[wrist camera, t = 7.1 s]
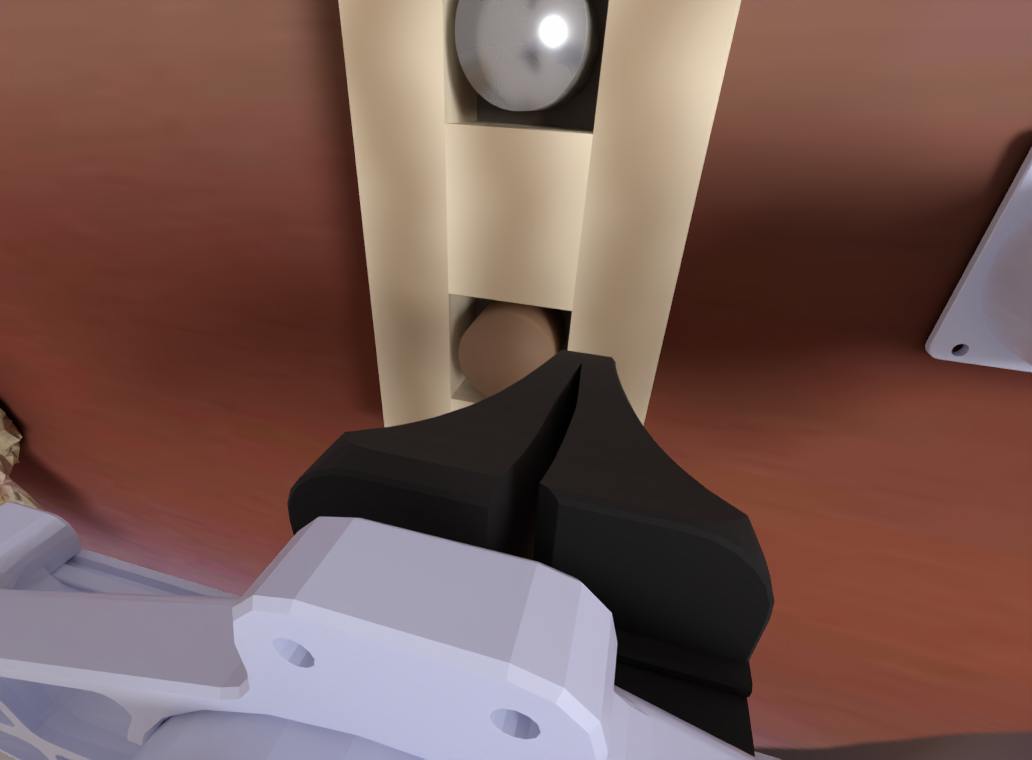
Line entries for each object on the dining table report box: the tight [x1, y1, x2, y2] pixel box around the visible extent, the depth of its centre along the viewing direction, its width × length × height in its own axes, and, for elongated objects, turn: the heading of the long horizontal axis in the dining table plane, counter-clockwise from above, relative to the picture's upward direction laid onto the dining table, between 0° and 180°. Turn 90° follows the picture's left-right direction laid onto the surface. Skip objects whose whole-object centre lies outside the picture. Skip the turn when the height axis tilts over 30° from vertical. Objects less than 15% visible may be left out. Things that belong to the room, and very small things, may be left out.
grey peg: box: [455, 0, 599, 111], centre depth 16 cm, size 4×4×3 cm
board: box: [338, 0, 741, 427], centre depth 19 cm, size 12×24×4 cm, turn 177°
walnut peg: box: [458, 300, 566, 397], centre depth 21 cm, size 4×4×3 cm
